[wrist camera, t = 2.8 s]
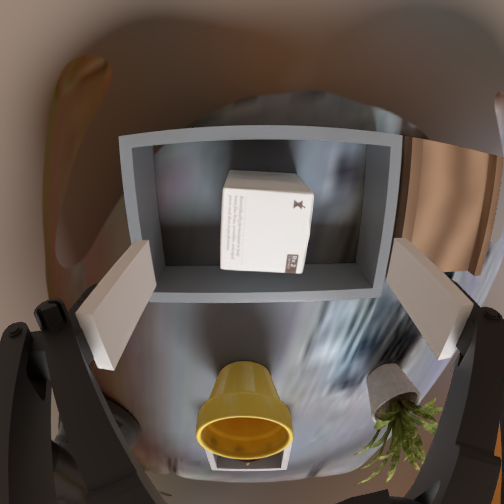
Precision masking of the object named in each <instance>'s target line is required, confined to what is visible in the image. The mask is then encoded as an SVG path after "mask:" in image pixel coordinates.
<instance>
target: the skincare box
mask: <svg viewBox="0 0 504 504" xmlns="http://www.w3.org/2000/svg"><path fill="white" fill-rule="evenodd" d="M313 202H314V193H313V192H312V190H311V189H310V188H309V187H308V186H307V185H306V184H305V183H304V182H303V180H302V179H301V178H300V177H299V176H298V175H297V174H294V173H280V172H264V171H244V170H230V171H229V173H228V176H227V179H226V181H225V184H224V187H223V192H222V207H221V232H220V268H221V269H225V270H240V271H262V272H280V273H298V274H300V273H302V272H303V268H304V263H305V258H306V252H307V246H308V241H309V237H310V227H311V219H312V211H313Z"/></svg>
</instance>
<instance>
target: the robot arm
mask: <svg viewBox="0 0 504 504" xmlns="http://www.w3.org/2000/svg"><path fill="white" fill-rule="evenodd" d="M386 283H387V285H388V286H389V287H390V289H391V290H392V292H393V293H394V294H395V296H396V297H397V299H398V300H399V302H400V303H401V304H402V306H403V307H404V309H405V310H406V312H407V313H408V315H409V316H410V318H411V319H412V321H413V322H414V324H415V325H416V327H417V328H418V330H419V331H420V333H421V334H422V336H423V338H424V339H425V341H426V342H427V344H428V345H429V347H430V349H431V350H432V352H433V353H434V355H435V357H436V358H437V360H441V359H445V358H450V357H451V356H452V354H453V352H454V350H455V348H456V347H457V348H458V349H459V351H460V353H459V355H458V357H457V359H456V361H455V363H454V365H453V367H452V368H451V370H450V371H451V372H452V371H453V370H454V373H453V377H452V381H451V385H450V388H449V392H448V396H447V399H446V402H445V406H444V409H443V412H442V415H441V418H440V421H439V424H438V427H437V430H436V433H435V435H434V438H433V441H432V443H431V446H430V449H429V451H428V454H427V456H426V458H425V461H424V463H423V465H422V467H421V470H420V472H419V474H418V476H417V478H416V480H415V482H414V484H413V486H412V487H411V489H410V490H409V491H408V492H407V494H406V495H405V496H404V498H403V497H393V496H389V492H388V490H387V489H386V490H382V491H378V492H374V493H370V494H366V495H361V496H356V497H351V498H349V499H346V500H344V501H342V502H339V503H337V504H491V502H492V499H493V495H494V492H495V489H496V485H497V481H498V477H499V473H500V468H501V459H500V457H497V456H494V450H495V445H496V440H497V434H498V428H499V421H500V428H501V444H502V483H501V504H504V319H503V318H502V316H501V315H500V313H498V312H497V311H496V310H494V309H492V308H489V307H480V306H479V305H478V304H477V303H476V302H475V301H474V300H473V299H472V298H471V297H470V296H469V295H468V294H467V293H466V292H465V291H464V290H462V288H461V287H460V286H459V285H458V284H457V283H456V282H455V281H453V280H451V279H450V278H448V277H447V276H446V275H445V274H444V273H443V272H442V271H441V270H440V269H439V268H438V267H437V266H436V265H435V264H434V263H433V262H432V261H431V260H429V259H428V258H427V257H426V256H425V255H424V254H423V253H422V252H421V251H420V250H419V249H418V248H416V247H415V246H414V245H413V244H412V243H411V242H410V241H409V240H408V239H406V238H394V243H393V249H392V254H391V259H390V264H389V269H388V274H387V279H386ZM155 288H156V280H155V275H154V269H153V264H152V258H151V252H150V245H149V240H136V241H135V242H134V243H133V244H132V245H131V246H130V247H129V248H128V250H127V251H126V252H125V253H124V254H123V255H122V256H121V258H120V259H119V260H118V261H117V262H116V263H115V265H114V266H113V267H112V268H111V269H110V270H109V272H108V273H107V274H106V275H105V276H104V278H103V279H102V280H101V281H100V282H99V284H94V285H92V286H91V287H89V288H88V289H86V291H85V292H84V293H83V294H82V295H81V297H80V298H79V299H78V300H77V302H76V303H75V304H74V305H73V306H72V308H71V309H70V310H69V311H68V313H67V310H66V307H65V304H64V302H63V301H62V300H60V299H50V300H47V301H45V302H43V303H41V304H40V305H39V306H37V308H36V309H35V311H34V315H35V318H36V320H37V322H38V324H39V327H40V329H41V331H35V332H30V330H29V328H28V326H27V325H26V323H23V322H18V323H13V324H11V325H10V326H8V328H7V329H5V331H4V332H3V335H2V337H1V341H0V504H167V503H166V502H165V500H164V499H163V498H162V496H161V495H160V493H159V492H158V491H157V489H156V488H155V486H154V485H153V484H152V482H151V480H150V479H149V477H148V476H147V474H146V473H145V471H144V470H143V468H142V466H141V465H140V463H139V462H138V460H137V458H136V457H135V455H134V453H133V452H132V449H133V447H134V446H135V445H136V444H137V442H138V439H139V435H140V426H139V424H138V423H137V421H136V420H135V419H134V418H133V417H132V416H131V415H130V414H129V413H128V412H127V411H126V410H124V409H123V408H121V407H120V406H118V405H117V404H115V403H113V402H112V401H110V400H108V399H106V398H104V396H103V394H102V391H101V389H100V387H99V385H98V382H97V380H96V378H95V375H94V373H93V370H92V368H91V366H90V363H91V361H92V359H93V358H94V360H95V362H96V364H97V367H98V368H101V369H107V370H115V368H116V366H117V363H118V361H119V359H120V357H121V355H122V353H123V351H124V349H125V347H126V344H127V342H128V340H129V338H130V336H131V334H132V332H133V330H134V328H135V326H136V324H137V322H138V320H139V318H140V316H141V314H142V312H143V310H144V308H145V307H146V305H147V303H148V301H149V299H150V297H151V295H152V293H153V291H154V289H155ZM51 388H53V392H54V396H55V400H56V404H57V408H58V411H59V422H58V433H57V436H56V438H55V440H54V441H52V440H51Z"/></svg>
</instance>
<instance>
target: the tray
mask: <svg viewBox="0 0 504 504" xmlns="http://www.w3.org/2000/svg"><path fill="white" fill-rule="evenodd" d="M502 168H503V157H499V156H496V155H492V154H488V153H484V152H480V151H476V150H472V149H469V148H464V147H460V146H455V145H451V144H446V143H441V142H436V141H431V140H426V139H420V138H415V137H408V136H402V155H401V169H400V180H399V190H398V199H397V208H396V215H395V222H394V229H393V236H392V242H391V248H390V254H389V259H388V264H387V269H386V273H387V274H388V269H389V264H390V259H391V254H392V249H393V243H394V238H406V239H408V240H409V241H410V242H411V243H412V244H413V245H414V246H415V247H416V248H418V249H419V250H420V251H421V252H422V253H423V254H424V255H425V256H426V257H427V258H428V259H429V260H431V261H432V262H433V263H434V264H435V265H436V266H437V267H438V268H439V269H440V270H441V271H442V272H451V271H466V270H468V271H469V272H470V273H471V274H473V275H474V276H478V275H481V272H482V268H483V265H484V261H485V258H486V254H487V250H488V246H489V242H490V238H491V234H492V229H493V224H494V220H495V215H496V210H497V204H498V198H499V192H500V184H501V177H502Z"/></svg>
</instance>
